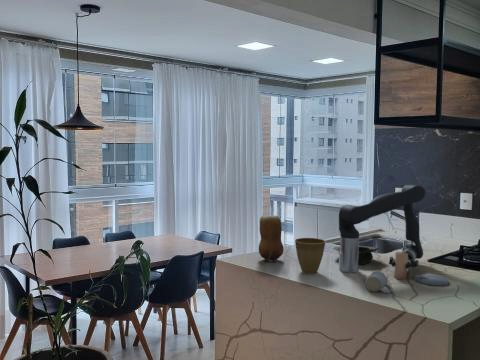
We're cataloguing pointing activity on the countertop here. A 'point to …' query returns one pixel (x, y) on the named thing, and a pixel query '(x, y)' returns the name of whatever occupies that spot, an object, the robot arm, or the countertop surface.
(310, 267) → the plant pot
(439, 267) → the countertop surface
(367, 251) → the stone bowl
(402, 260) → the canister
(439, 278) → the slate dish
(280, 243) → the butternut squash
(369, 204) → the robot arm
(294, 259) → the countertop surface
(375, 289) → the ceramic mug
